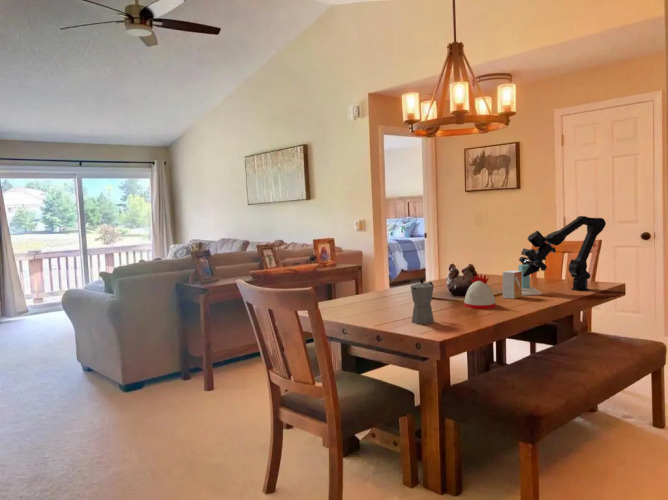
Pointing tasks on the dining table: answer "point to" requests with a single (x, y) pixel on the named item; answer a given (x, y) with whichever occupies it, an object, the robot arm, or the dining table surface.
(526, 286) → the pillar
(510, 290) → the small box
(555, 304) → the dining table surface
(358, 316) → the dining table surface
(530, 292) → the plinth
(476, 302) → the kitchen timer
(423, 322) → the coffeepot
